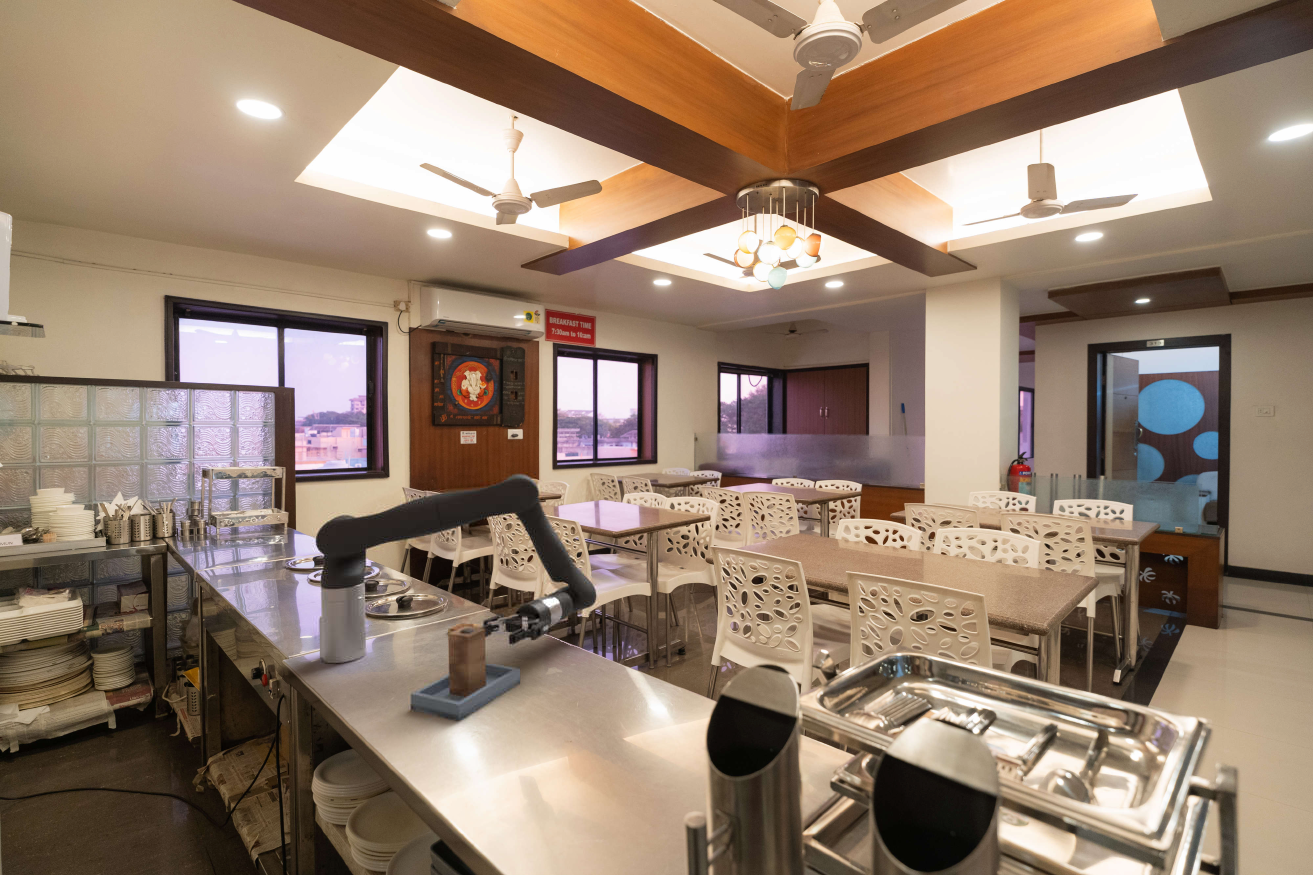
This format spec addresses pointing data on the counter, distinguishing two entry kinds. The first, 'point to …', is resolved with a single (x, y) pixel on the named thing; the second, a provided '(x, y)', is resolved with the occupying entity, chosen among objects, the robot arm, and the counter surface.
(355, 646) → the robot arm
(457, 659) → the walnut block
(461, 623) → the shard
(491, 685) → the slate tray
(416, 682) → the counter surface
